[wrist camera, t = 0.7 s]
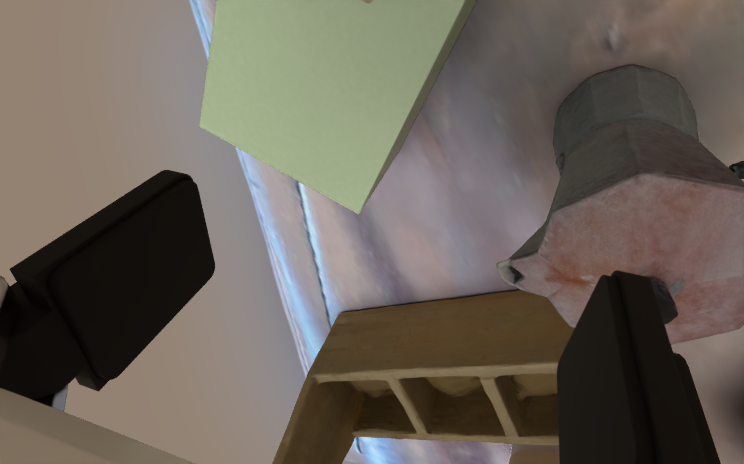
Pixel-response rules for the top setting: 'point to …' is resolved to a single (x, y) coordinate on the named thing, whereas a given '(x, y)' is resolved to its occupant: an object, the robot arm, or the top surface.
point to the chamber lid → (322, 83)
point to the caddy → (432, 376)
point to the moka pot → (639, 207)
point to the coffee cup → (534, 454)
